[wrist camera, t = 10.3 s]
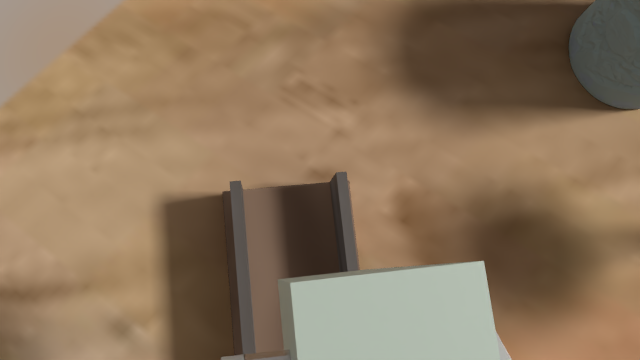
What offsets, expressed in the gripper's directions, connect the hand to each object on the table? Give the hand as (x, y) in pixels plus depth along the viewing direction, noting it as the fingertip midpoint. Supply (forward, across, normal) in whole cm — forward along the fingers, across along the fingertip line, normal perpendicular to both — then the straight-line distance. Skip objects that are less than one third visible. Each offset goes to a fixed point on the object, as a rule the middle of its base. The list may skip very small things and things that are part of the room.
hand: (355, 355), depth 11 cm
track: (+14, 0, +15) cm, 20 cm away
